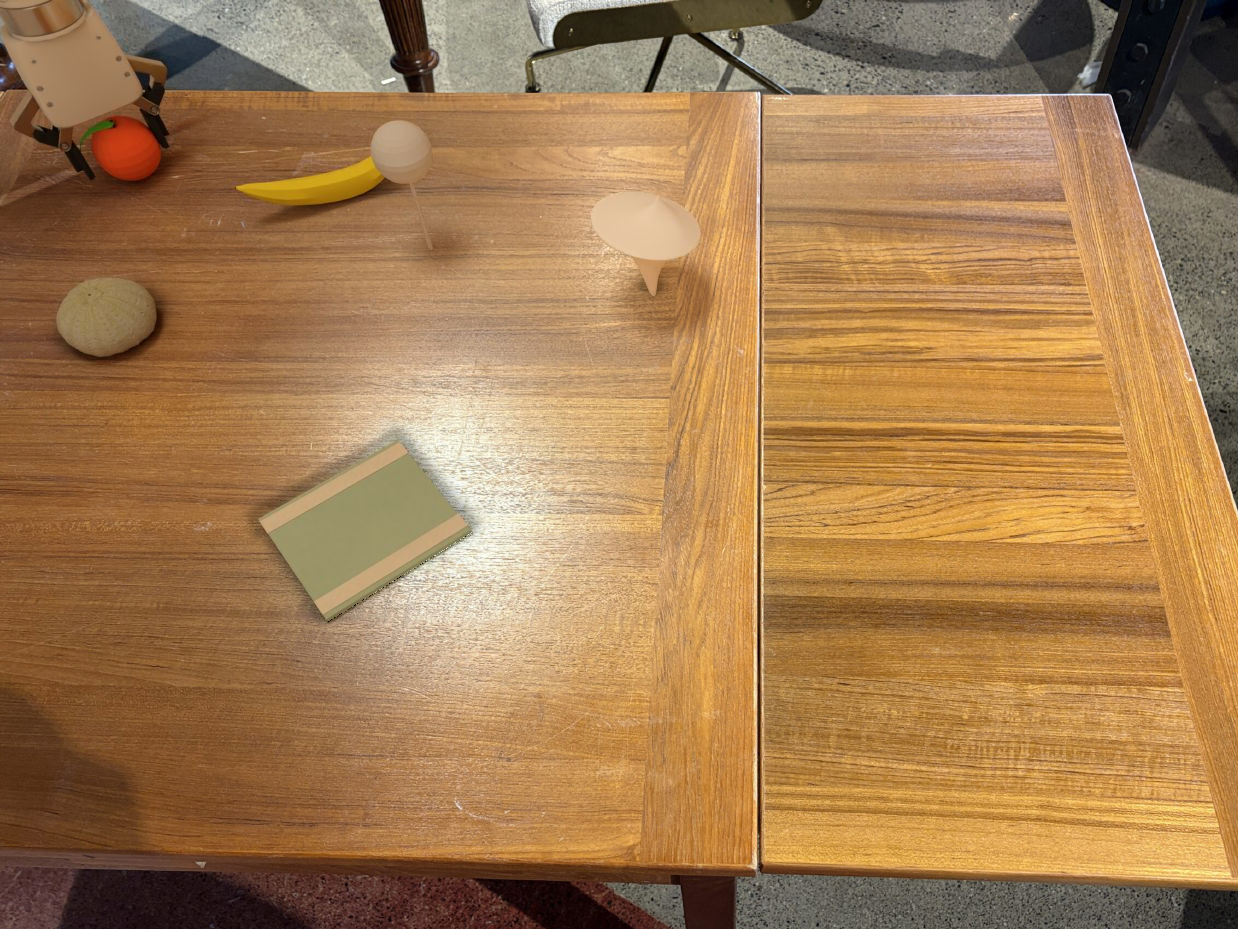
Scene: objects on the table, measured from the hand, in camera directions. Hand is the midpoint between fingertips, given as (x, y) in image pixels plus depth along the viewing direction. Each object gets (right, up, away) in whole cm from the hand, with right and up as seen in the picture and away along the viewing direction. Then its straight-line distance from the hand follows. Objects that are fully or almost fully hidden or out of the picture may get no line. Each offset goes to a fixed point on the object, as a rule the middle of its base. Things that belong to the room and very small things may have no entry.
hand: (125, 157), depth 115 cm
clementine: (0, -1, +2) cm, 3 cm away
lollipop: (+36, -12, -6) cm, 39 cm away
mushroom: (+60, -18, -10) cm, 64 cm away
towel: (+36, -42, -26) cm, 61 cm away
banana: (+24, -5, -1) cm, 25 cm away
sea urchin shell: (+6, -22, -12) cm, 26 cm away
